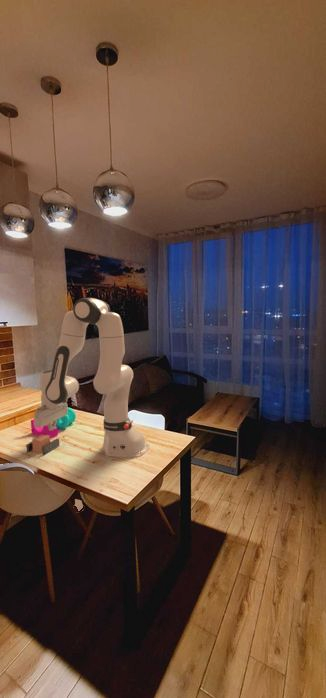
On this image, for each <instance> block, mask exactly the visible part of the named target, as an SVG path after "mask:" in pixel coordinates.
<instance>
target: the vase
mask: <svg viewBox="0 0 326 698" xmlns="http://www.w3.org/2000/svg"><path fill="white" fill-rule="evenodd" d="M74 506H76V507H77V509H78V511H80V510H81V509H82V508H83V506H84V504H83V501H82V500H80V499H76V498H75V499H74Z"/></svg>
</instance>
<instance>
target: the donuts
mask: <svg viewBox="0 0 326 698" xmlns="http://www.w3.org/2000/svg"><path fill="white" fill-rule="evenodd" d="M76 418H77V415H76V412H75V410H74V409H73V408H71V407H68V412H67V415H65V416H63V417H61V418H59V419H57V423H56V428H58V429H59V430H63V429H66V428H67V427H68V426H69V425H73V423H74V422H75V421H76Z"/></svg>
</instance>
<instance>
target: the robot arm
mask: <svg viewBox="0 0 326 698" xmlns="http://www.w3.org/2000/svg"><path fill="white" fill-rule="evenodd" d="M89 324H90V325H95V326H97V329H98V336H99V337H98V339H99V353H100V354H99V362H98V369H97V371H96V374H95V376H94V377H93V382H92V383H93V387H94V390H95V391H96V392H97V393H98V394H100V395H106V397H105V400H104V402H103V415H104V416H103V430H104V433H103V435H104V436H103V443H102V447H101V450H102V451H103V452H104V453H105V456H106V457H116V458H117V457H119V458H121V457H124V458H140V457H142V456H143V455H145V454H146V453H147V452H148V451H149V449H150V448H151V447H150V443H148V442H146V440H145V435H144V434H143V433H142V432H141V431H139V430H138V429H136V428H135V427H134V426H133V423H134V419H130V418H129V407H128V405H129V395H130V391H131V390H130V389H131V386H132V385H131V384H132V381H133V379H134V370H133V369H132V368H131V366H129V365H128V364H122V363H123V358H124V356H125V353H126V350H125V349H126V347H125V336H124V335H125V334H124V327H123V326H124V325H123V322H122V318H121V316H120V314H118V313H116V312H113V311H111V308H110V305H109V304H108V302H106V301H104V300H102V299H97V298H94V297H83V298H79V299H78V300H76V301H75V303H74V305H73V307H72V310H69V311H67V312H66V313H65V314H64V318H63V321H62V325H61V329H60V338H59V343H58V347H57V350H56V353H55V356H54V360H53V363H52V364H53V366H52V369H49V370H46V371H43V372H41V374H40V375H41V376H40V385H39V386H40V390H41V395H40V404H41V405H40V406H38V407H37V409H36V410H35V411H34V418H33V419H34V426H35V427H40V428H41V427H43V426H45V425H47V426H48V427H49V430H50V431H52V430H53V429H55V428H57V427H56V423H57V419H59V418H61V417H63V416H65V415H67V412H68V403H67V402H68V399H69V398H71V397H73V396H74V395H76V394H77V393H78V391H79V390H80V384H79V381H78V379H76V378H75V377H74V376H69V375H68V374H67V373H68V369H69V368H68V367H69V365H70V362H71V361H72V359H73V358H74V357H75V356H77V354H78V353H80V352H81V351H82V349H84V345H85V340H86V333H87V328H88V325H89ZM51 424H52V425H51Z"/></svg>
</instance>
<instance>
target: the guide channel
mask: <svg viewBox="0 0 326 698" xmlns="http://www.w3.org/2000/svg"><path fill="white" fill-rule="evenodd" d="M25 447H26V452H27V453H30V452H31V451H32V452H33V445H32V441H30V442H29V443H27V444H25ZM58 447H60V438H56V439H53V440H52V441H50V443H49V444H47V445H45V446H43V447H42V452H43V453H42V455H44V456H45V455H47V454H49V453H50V452H52V451H54V450H55V449H57V448H58Z"/></svg>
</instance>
